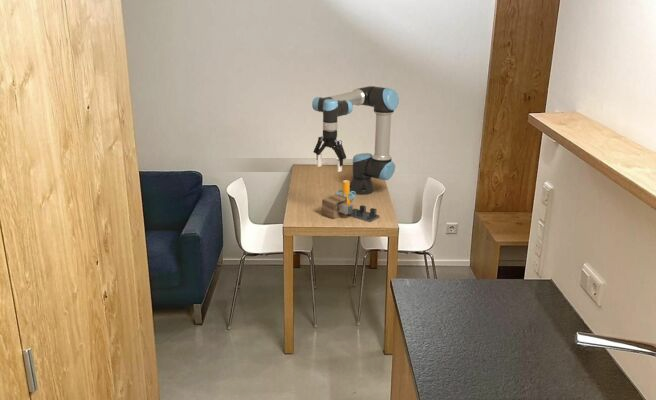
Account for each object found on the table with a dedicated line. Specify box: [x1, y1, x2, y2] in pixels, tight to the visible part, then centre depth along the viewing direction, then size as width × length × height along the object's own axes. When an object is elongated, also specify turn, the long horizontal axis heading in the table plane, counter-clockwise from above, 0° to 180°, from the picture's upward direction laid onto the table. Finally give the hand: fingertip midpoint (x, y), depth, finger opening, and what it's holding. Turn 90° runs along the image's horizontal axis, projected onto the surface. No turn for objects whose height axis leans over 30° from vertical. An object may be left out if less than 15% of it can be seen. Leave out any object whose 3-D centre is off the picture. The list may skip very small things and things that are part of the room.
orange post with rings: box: [336, 179, 357, 205], centre depth 350 cm, size 12×10×15 cm
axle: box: [337, 202, 354, 215], centre depth 336 cm, size 4×15×4 cm, turn 51°
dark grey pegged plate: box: [345, 204, 380, 223], centre depth 337 cm, size 9×16×4 cm, turn 51°
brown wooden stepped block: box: [321, 193, 347, 220], centre depth 338 cm, size 12×8×9 cm, turn 141°
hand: (329, 168), depth 325 cm, fingers open, 13 cm apart
